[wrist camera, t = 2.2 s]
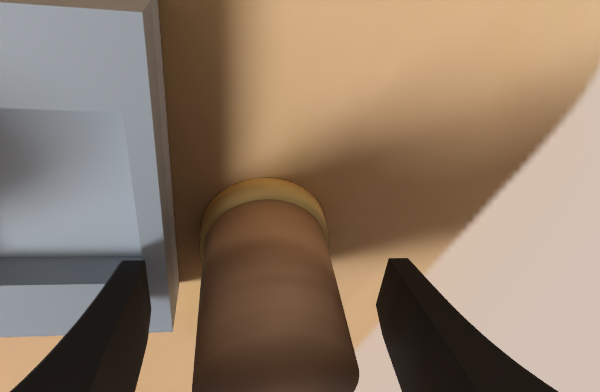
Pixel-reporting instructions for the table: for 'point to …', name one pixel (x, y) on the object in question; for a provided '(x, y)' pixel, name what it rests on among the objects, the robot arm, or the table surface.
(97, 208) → the grey divided tray
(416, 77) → the table surface
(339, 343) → the sleeve
